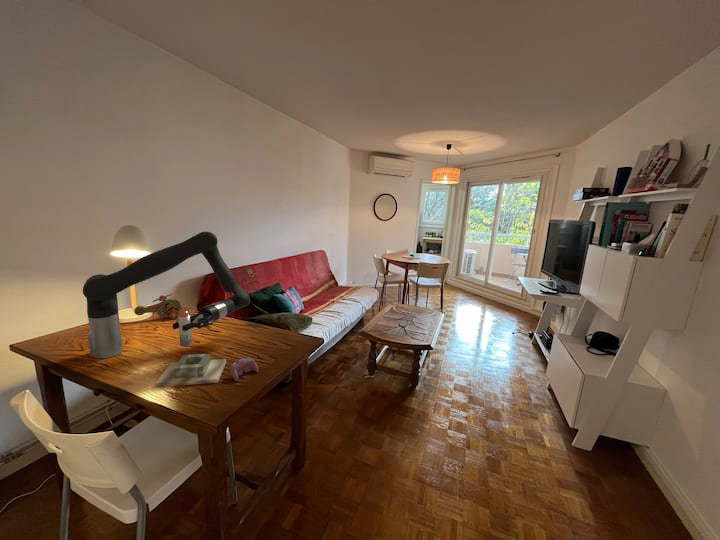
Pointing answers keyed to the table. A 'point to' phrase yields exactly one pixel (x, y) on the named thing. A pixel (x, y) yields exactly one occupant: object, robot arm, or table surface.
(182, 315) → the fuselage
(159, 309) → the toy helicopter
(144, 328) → the table surface
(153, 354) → the table surface
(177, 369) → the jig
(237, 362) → the video game controller
